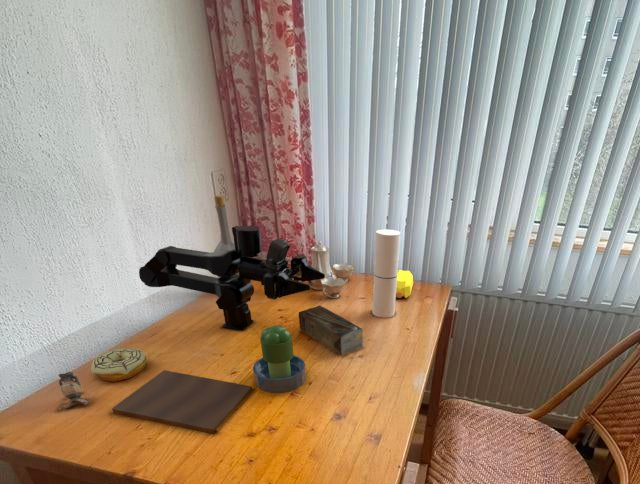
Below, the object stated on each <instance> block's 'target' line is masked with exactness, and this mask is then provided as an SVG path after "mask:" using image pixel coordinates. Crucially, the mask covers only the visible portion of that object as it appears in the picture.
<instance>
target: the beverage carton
mask: <svg viewBox="0 0 640 484" xmlns="http://www.w3.org/2000/svg"><path fill="white" fill-rule="evenodd" d="M298 323H299V330H300V331H301V332H302V333H304V334H306V335H307V336H309V337H310V338H312V339H314V340H315V341H317V342H319V343H320V344H322V345H324V346H325V347H327V348H329V349H331V350H332V351H334V352H336V353H338V354H340V355H345V354H347V353H350V352H352V351H354V350H358V349H362V348H363V345H364V344H363V343H364V339H363V338H364V336H363V334H364V333H363V332H364V329H363V328H362V327H360V326H358V325H357V324H355V323H354V322H352V321H349V320H348V319H346V318H344V317H343V316H341V315H339V314H337V313H335V312H333V311H332V310H330V309H328V308H326V307H325V306H322V305H317V306H314V307H310V308H307V309H305V310H301V311H298Z"/></svg>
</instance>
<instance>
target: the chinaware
mask: <svg viewBox="0 0 640 484" xmlns="http://www.w3.org/2000/svg"><path fill="white" fill-rule="evenodd" d="M310 250H311V254H312V259H311V260H312V261H311V265H310V266H311V267H313V268H314V269H316V270H318V271H320V272H322V273H323V274H325V278H324V279H319V280H312V281H307V282H308V285H310V289H312V290H316V291H322V296H323V297H324V298H325V297H328V298H330V299H338V298H339V296H340V295H341V294H342V292H343V291H344V289H345V285H347V282H348V281H349V278H351V277H352V275H353V272H354V270H355V264H348V263H347V262H340V263H333V264H332V268H331V266H330V261H329V251H330V248H329V247H328V246H326V245H324V244H323V242H322V241H321V240H318V242H317V244H315V245H314V246H312V247H310ZM332 269H333V271H332ZM325 293H326V295H325Z"/></svg>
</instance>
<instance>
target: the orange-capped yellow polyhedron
mask: <svg viewBox="0 0 640 484" xmlns="http://www.w3.org/2000/svg"><path fill="white" fill-rule="evenodd" d="M413 285H414V276H413V274H412V273H411V271H410V270H403V269H398V273H397V286H396V298H397V299H402V298H403V297H404V298H405V299H408V297H410V296H411V294H412V291H413Z"/></svg>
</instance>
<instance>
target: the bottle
mask: <svg viewBox="0 0 640 484" xmlns="http://www.w3.org/2000/svg"><path fill="white" fill-rule="evenodd" d="M213 198H214V202H215V203H214V204H215V205H214V206H215V210H216V214H217V221H218V226H219V231H220V240H219V242H218V244H217V245H216V247H215V249H214V251H213V252H219V251H230V250H233V249H235V245H234V241H233V239H232V235H231V232H230V226H229V220H228V214H227V213H228V210H227V205H226V199H225V196H224V195H213ZM236 275H239V272H238V273H236ZM217 278H220V277H219V276H217Z"/></svg>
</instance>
